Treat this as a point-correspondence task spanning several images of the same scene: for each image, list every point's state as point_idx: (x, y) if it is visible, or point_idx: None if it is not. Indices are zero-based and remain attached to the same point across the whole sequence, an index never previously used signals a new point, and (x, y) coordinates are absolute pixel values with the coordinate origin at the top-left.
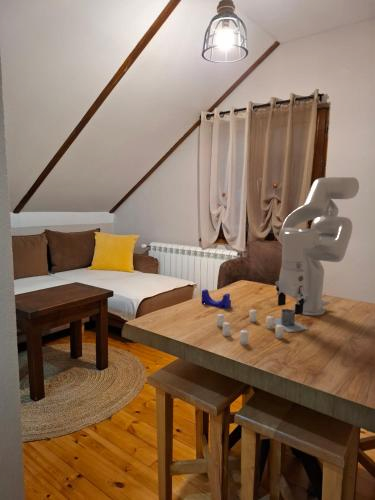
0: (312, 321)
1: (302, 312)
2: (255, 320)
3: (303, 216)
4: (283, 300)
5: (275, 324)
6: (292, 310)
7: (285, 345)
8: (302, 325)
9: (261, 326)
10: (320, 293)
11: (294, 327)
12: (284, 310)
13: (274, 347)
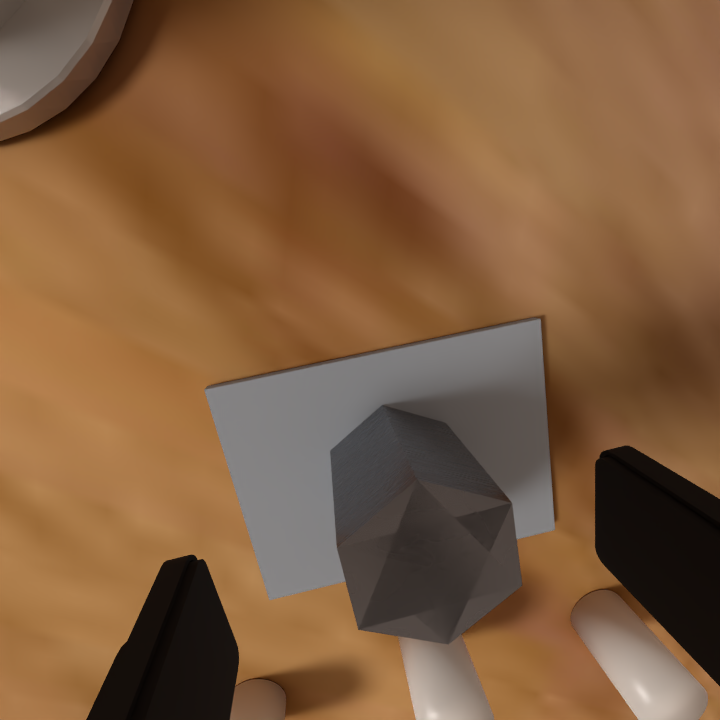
0: (338, 123)
1: (635, 455)
2: (279, 701)
3: None
4: (191, 680)
5: None
6: (419, 501)
7: None
8: (459, 337)
9: (383, 667)
10: None
11: (488, 440)
12: (397, 606)
13: (708, 679)
